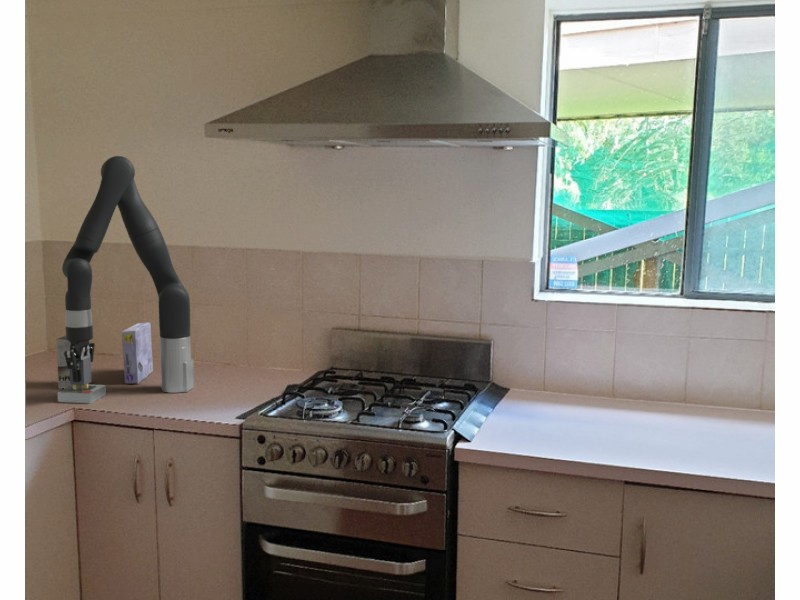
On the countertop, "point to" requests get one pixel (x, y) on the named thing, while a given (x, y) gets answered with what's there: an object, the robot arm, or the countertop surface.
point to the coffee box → (63, 362)
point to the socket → (82, 394)
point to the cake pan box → (137, 352)
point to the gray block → (83, 374)
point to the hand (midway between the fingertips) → (81, 379)
